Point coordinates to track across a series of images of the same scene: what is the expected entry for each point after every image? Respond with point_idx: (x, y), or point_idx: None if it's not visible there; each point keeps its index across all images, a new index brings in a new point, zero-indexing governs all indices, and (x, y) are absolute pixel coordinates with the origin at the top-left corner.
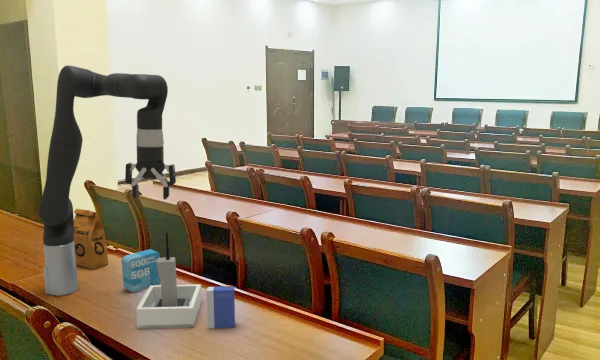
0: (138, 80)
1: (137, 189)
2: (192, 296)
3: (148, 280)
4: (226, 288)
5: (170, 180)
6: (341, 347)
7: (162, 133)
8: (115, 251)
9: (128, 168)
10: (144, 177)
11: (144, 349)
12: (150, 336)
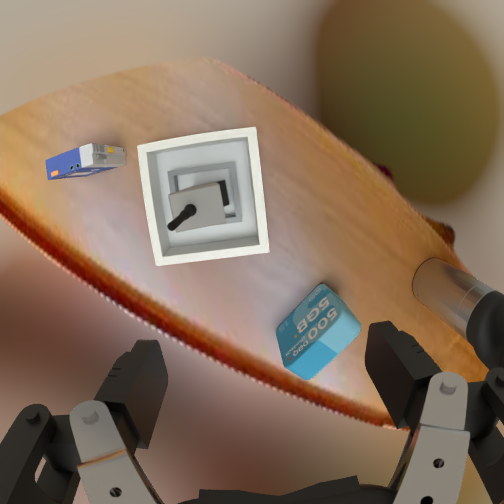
0: None
1: (391, 383)
2: (177, 249)
3: (296, 317)
4: (58, 163)
5: (31, 441)
6: None
7: None
8: (383, 421)
9: None
10: (359, 488)
11: (214, 69)
12: (218, 108)
